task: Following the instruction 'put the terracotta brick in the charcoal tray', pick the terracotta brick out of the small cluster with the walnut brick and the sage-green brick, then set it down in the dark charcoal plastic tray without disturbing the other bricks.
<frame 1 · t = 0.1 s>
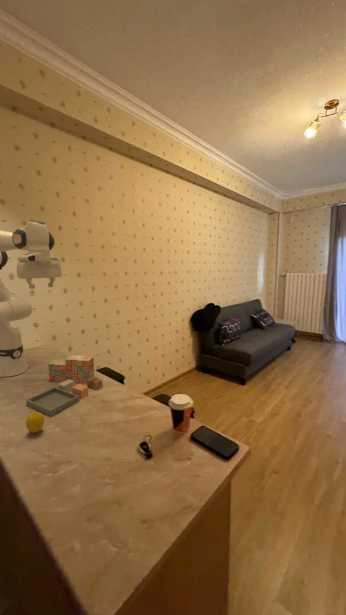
hand: (41, 287, 123), 48 cm above the counter, fingers open, 8 cm apart
terracotta brick: (80, 395, 122), on the counter
lemon: (35, 433, 95), on the counter
sage brick: (66, 390, 126), on the counter
charcoal tray: (53, 403, 115), on the counter
stack of blocks: (72, 380, 138), on the counter
walnut brick: (94, 387, 130), on the counter
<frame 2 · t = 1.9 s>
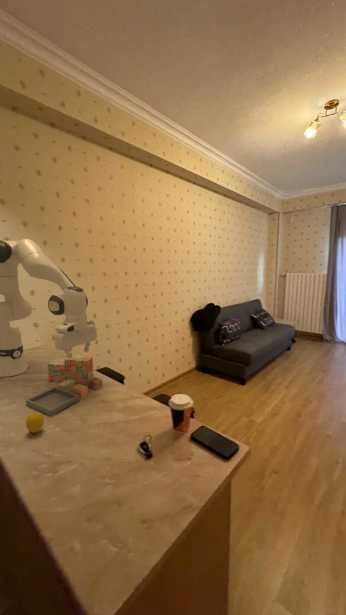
hand: (78, 354, 119), 19 cm above the counter, fingers open, 8 cm apart
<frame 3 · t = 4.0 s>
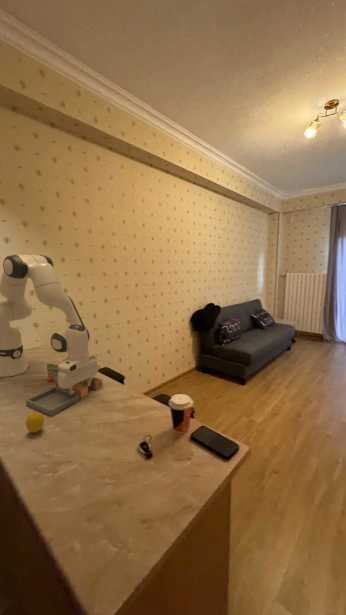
hand: (80, 389, 121), 2 cm above the counter, fingers open, 8 cm apart
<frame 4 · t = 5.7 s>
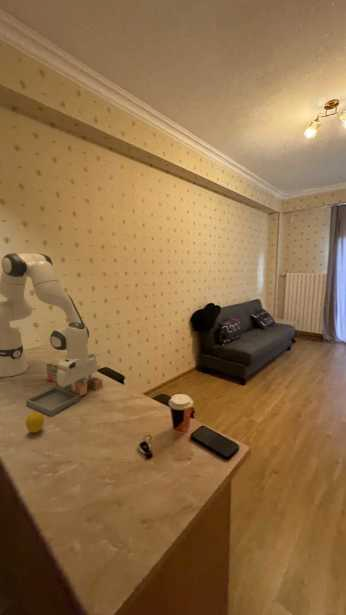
hand: (79, 387, 122), 3 cm above the counter, fingers closed on terracotta brick, 4 cm apart
terracotta brick: (79, 392, 122), point 1 cm above the counter, touching gripper
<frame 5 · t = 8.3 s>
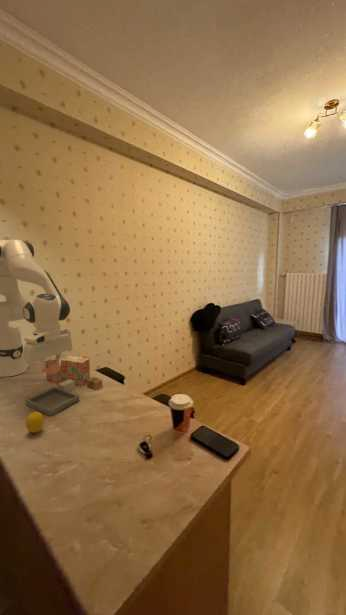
hand: (50, 365, 112), 17 cm above the counter, fingers closed on terracotta brick, 4 cm apart
terracotta brick: (50, 371, 112), point 14 cm above the counter, touching gripper
when the fingers open (4 cm above the counter, at t = 11.1 s): terracotta brick stays where it is, resting on charcoal tray.
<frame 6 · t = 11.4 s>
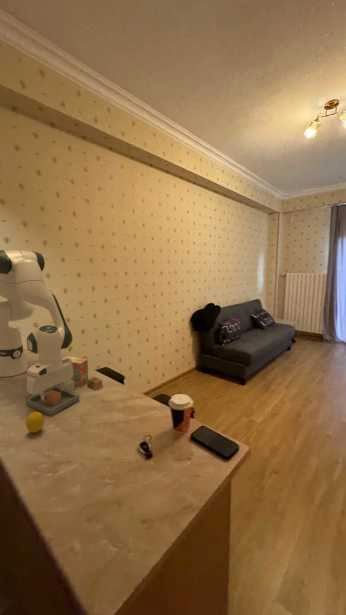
hand: (52, 395, 114), 4 cm above the counter, fingers open, 7 cm apart
terracotta brick: (52, 401, 115), point 1 cm above the counter, touching charcoal tray
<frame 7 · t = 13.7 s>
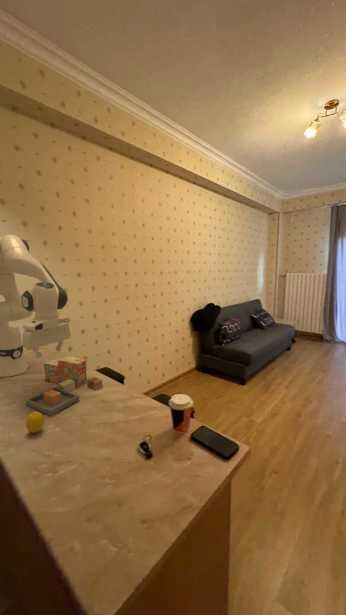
hand: (49, 353, 113), 21 cm above the counter, fingers open, 8 cm apart
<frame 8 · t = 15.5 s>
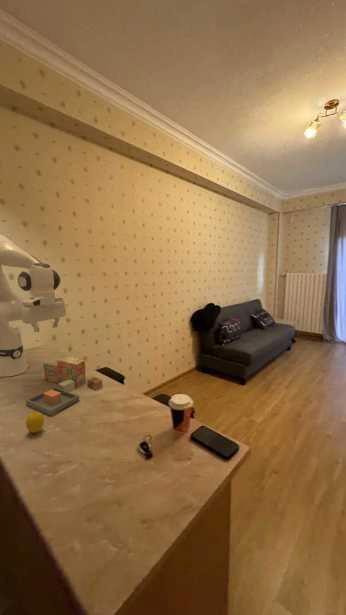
hand: (46, 329, 123), 29 cm above the counter, fingers open, 8 cm apart
at the end: terracotta brick inside the target area on the charcoal tray (0.4 cm from its centre), point 0.6 cm above the charcoal tray's base; walnut brick moved 0.2 cm from its start; sage brick moved 0.2 cm from its start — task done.
